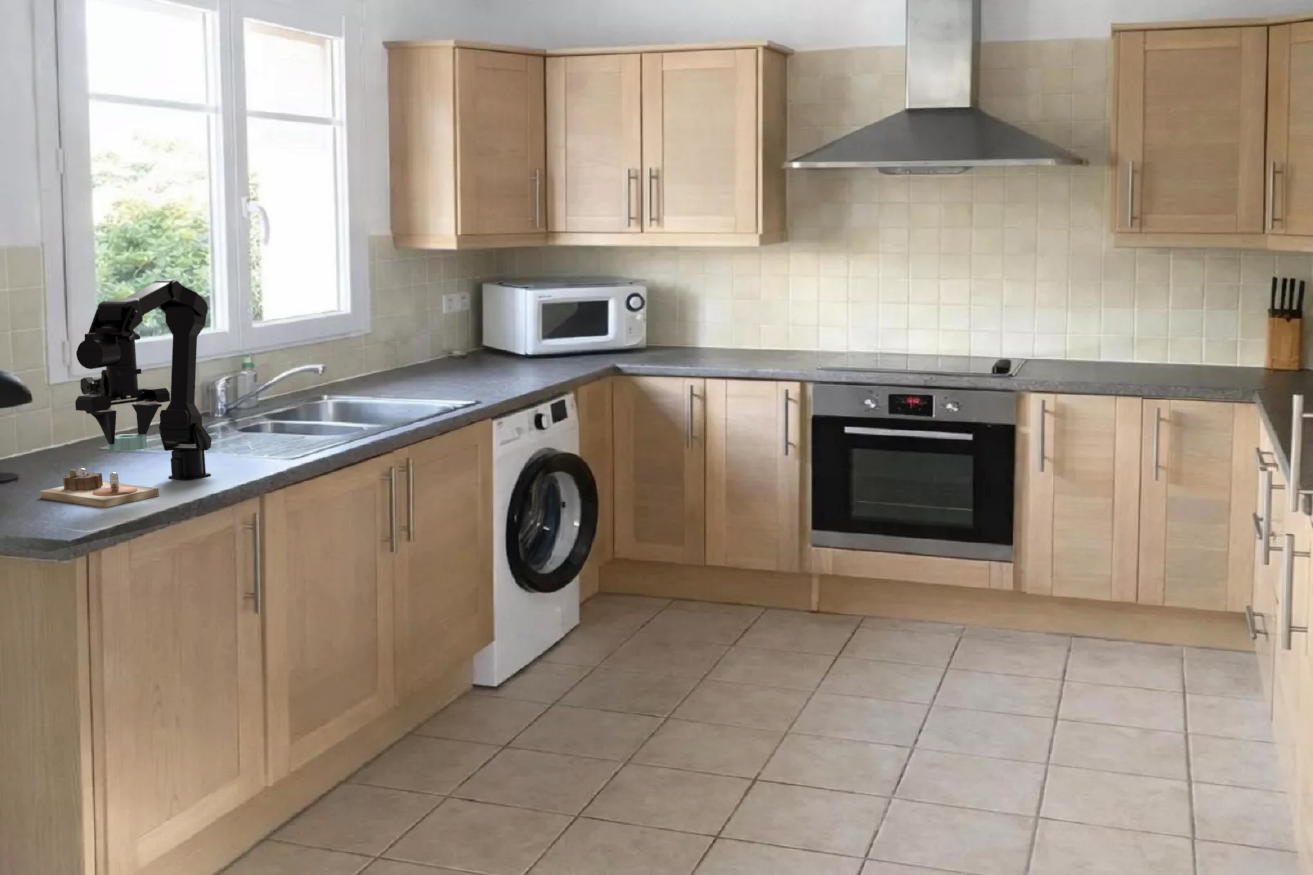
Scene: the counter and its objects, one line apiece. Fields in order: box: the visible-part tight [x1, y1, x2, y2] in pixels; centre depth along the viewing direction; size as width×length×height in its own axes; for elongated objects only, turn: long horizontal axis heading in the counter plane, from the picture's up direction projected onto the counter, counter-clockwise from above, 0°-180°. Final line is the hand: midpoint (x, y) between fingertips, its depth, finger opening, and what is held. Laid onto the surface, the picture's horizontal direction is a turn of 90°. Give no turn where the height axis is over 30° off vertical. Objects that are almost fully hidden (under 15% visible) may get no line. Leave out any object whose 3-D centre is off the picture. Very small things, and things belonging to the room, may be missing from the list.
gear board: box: [39, 480, 160, 508], centre depth 290 cm, size 13×20×2 cm, turn 58°
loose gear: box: [107, 433, 148, 452], centre depth 287 cm, size 7×7×2 cm
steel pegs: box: [77, 467, 120, 491], centre depth 290 cm, size 2×12×4 cm, turn 58°
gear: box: [62, 468, 103, 491], centre depth 293 cm, size 7×7×4 cm
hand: (126, 441), depth 287 cm, fingers closed on loose gear, 7 cm apart
